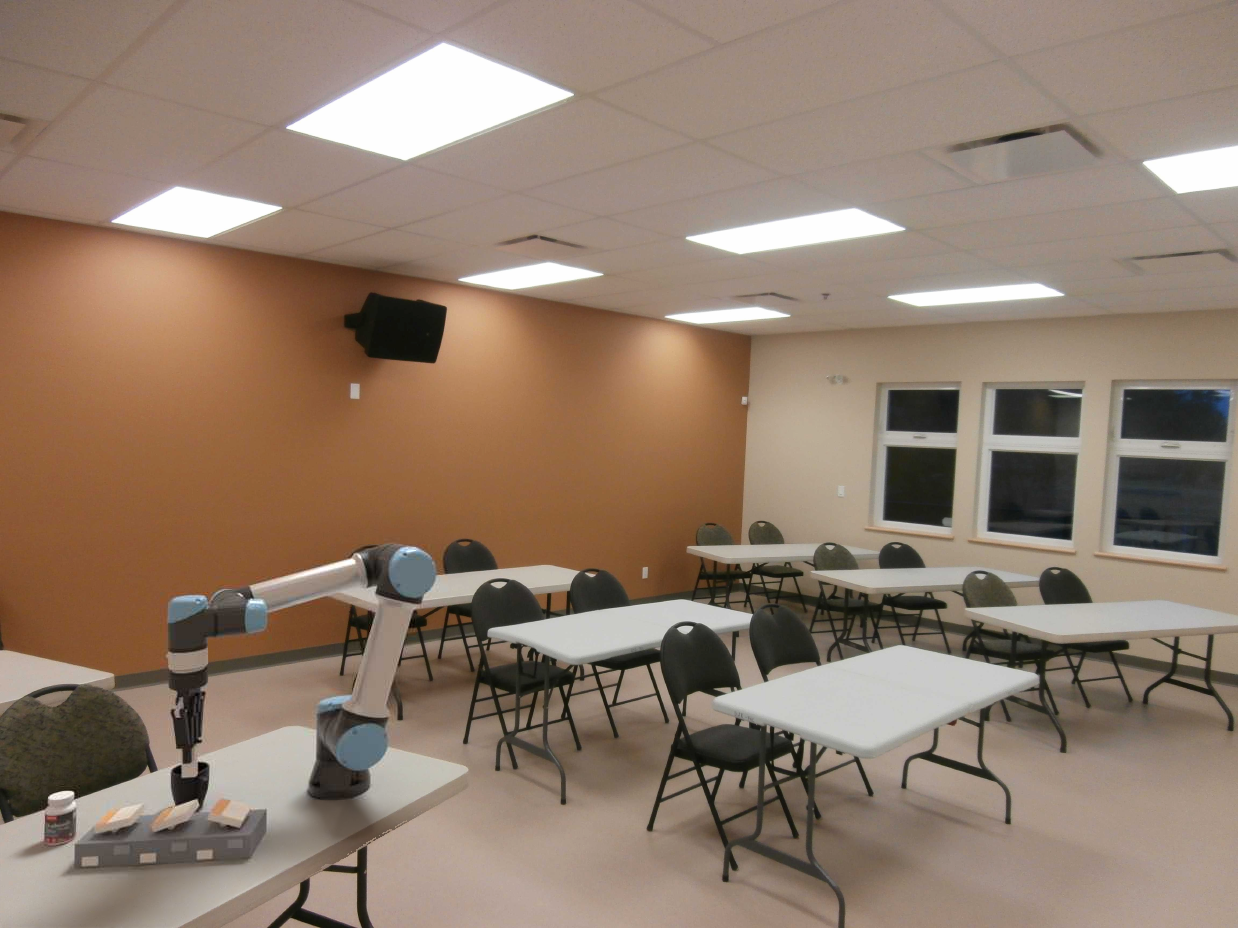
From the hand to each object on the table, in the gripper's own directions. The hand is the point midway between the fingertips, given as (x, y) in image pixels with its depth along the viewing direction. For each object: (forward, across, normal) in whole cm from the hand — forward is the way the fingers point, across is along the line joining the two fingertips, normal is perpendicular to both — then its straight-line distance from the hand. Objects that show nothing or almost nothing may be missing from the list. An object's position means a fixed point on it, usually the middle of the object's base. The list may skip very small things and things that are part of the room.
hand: (189, 775), depth 170 cm
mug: (+16, -18, -6) cm, 25 cm away
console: (+16, +1, -3) cm, 16 cm away
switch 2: (+10, +1, -2) cm, 10 cm away
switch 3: (+10, 0, +8) cm, 13 cm away
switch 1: (+10, +1, -13) cm, 17 cm away
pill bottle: (+15, -6, -29) cm, 33 cm away
